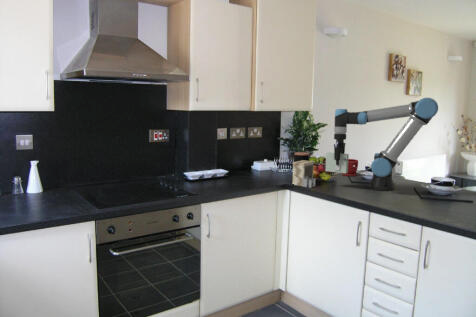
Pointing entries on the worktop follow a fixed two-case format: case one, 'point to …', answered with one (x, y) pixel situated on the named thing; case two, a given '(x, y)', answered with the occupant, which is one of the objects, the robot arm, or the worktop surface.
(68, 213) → the worktop surface
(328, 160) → the cabinet door
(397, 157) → the robot arm
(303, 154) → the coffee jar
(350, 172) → the plant pot
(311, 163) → the cabinet
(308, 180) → the hinge clips
